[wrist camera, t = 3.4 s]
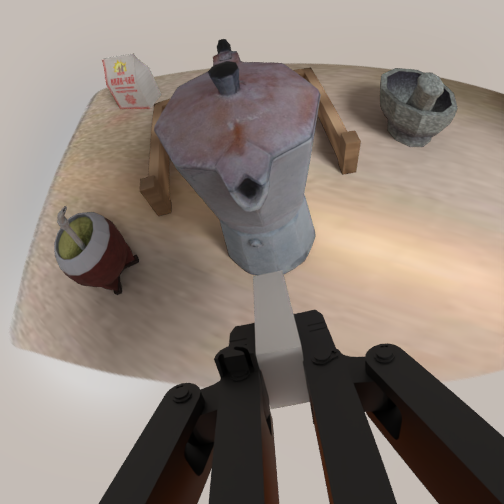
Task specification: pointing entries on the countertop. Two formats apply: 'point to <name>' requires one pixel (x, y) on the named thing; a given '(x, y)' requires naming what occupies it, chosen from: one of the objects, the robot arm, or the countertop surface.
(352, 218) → the countertop surface
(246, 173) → the moka pot
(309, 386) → the robot arm
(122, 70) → the white paper packet
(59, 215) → the mate gourd
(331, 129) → the bay
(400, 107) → the mortar and pestle
